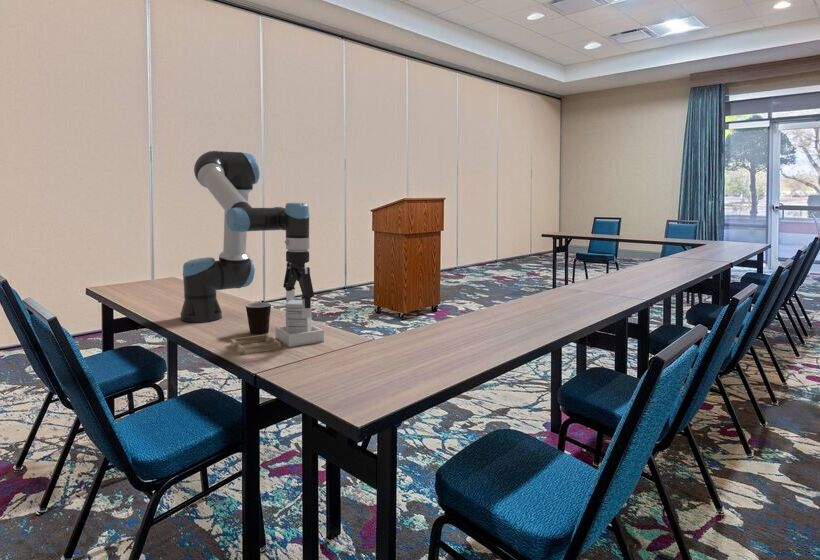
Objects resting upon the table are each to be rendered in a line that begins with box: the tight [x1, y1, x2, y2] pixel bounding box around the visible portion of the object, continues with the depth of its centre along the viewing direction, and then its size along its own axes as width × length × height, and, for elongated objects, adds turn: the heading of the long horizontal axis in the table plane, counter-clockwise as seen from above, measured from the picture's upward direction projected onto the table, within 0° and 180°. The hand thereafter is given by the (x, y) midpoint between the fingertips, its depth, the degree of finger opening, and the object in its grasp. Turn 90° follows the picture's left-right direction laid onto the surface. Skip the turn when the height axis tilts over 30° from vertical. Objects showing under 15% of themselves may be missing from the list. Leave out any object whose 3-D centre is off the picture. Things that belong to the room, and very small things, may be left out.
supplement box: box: [285, 299, 313, 334], centre depth 180 cm, size 7×7×13 cm
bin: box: [274, 324, 325, 348], centre depth 181 cm, size 12×12×4 cm
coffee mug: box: [245, 302, 272, 336], centre depth 191 cm, size 12×9×10 cm
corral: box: [230, 333, 282, 355], centre depth 173 cm, size 12×12×2 cm
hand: (298, 313), depth 180 cm, fingers open, 13 cm apart
